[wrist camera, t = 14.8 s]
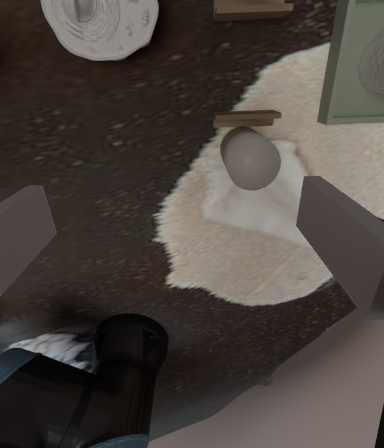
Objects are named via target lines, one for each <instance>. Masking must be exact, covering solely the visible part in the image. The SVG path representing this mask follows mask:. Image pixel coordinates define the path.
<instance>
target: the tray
mask: <svg viewBox="0 0 384 448" xmlns="http://www.w3.org/2000/svg"><path fill="white" fill-rule="evenodd" d="M382 33H384V0H338V2H337V8H336V14H335V20H334V26H333V31H332V37H331V43H330V49H329V55H328V61H327V67H326V73H325V79H324V85H323V91H322V97H321V102H320V108H319V114H318V120H317V122H320V123H323V124H351V123H379V122H384V94H380V93H376V92H372V91H368V90H367V89H366V88H365V86H364V85H363V84H362V83H361V81H360V75H359V66H360V62H361V58H362V55H363V53H364V52H365V50H366V49H367V47H368V46H369V44H370V43H371V42H372V41H373V40H374V39H376V38H377V37H378V36H380V35H381V34H382Z"/></svg>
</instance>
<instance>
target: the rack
mask: <svg viewBox="0 0 384 448" xmlns="http://www.w3.org/2000/svg"><path fill="white" fill-rule="evenodd" d="M284 1H285V0H214V21H232V20H256V19H281V18H283V17H284V16H286V15H287V14H288V13H290V12H291V11H293V3H286V4H284ZM273 118H281V113H280V112H277V111H274V110H259V111H232V112H213V127H214V128H215V127H243V126H271V125H272V124H273Z"/></svg>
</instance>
